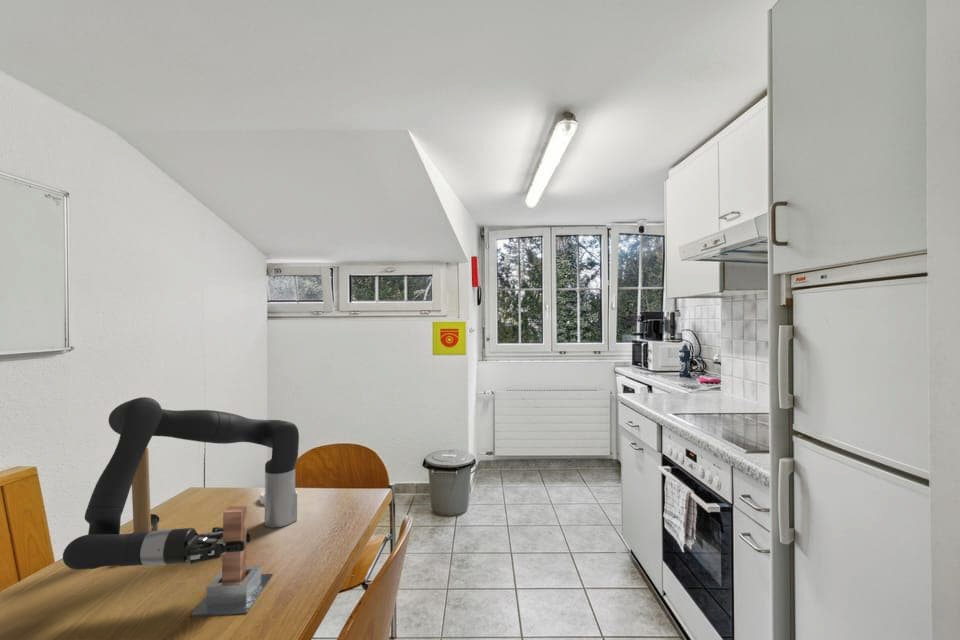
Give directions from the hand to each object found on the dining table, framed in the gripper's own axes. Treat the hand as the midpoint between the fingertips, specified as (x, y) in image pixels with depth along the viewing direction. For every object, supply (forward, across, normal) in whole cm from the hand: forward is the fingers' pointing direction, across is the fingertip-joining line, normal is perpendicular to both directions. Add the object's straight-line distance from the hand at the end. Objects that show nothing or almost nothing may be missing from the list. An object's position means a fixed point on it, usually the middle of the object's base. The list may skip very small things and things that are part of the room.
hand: (247, 541), depth 111 cm
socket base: (-3, 0, +13) cm, 13 cm away
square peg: (-3, 0, +10) cm, 10 cm away
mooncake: (-9, +64, +13) cm, 66 cm away
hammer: (-39, +32, +13) cm, 52 cm away
